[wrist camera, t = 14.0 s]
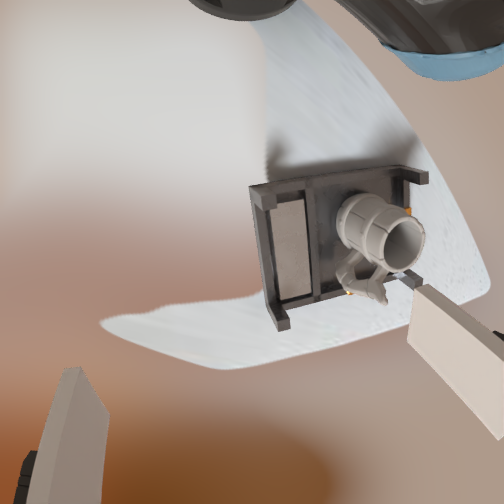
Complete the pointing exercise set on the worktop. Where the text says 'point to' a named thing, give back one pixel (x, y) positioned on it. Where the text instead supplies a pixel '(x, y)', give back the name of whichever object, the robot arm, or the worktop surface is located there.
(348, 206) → the mug
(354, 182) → the tray
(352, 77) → the worktop surface
